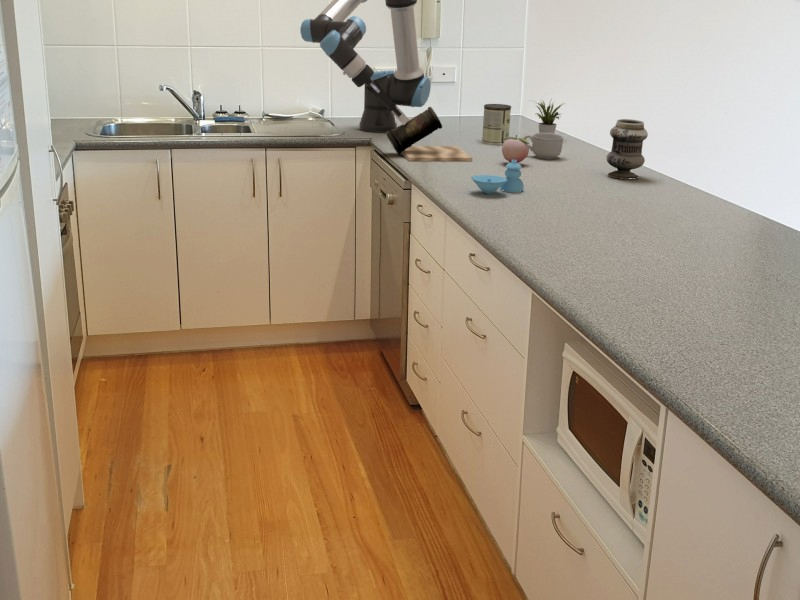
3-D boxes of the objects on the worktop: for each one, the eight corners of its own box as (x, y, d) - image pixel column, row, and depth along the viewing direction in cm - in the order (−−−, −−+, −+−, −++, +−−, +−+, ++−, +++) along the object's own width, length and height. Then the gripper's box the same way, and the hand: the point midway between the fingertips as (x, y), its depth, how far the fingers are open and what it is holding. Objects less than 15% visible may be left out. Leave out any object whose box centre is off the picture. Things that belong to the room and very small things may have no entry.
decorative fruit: (497, 165, 305) (499, 135, 302) (503, 161, 313) (505, 132, 309) (524, 168, 302) (527, 138, 299) (530, 163, 310) (532, 134, 306)
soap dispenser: (487, 199, 257) (489, 167, 254) (462, 191, 265) (464, 161, 262) (532, 192, 268) (535, 162, 265) (507, 185, 275) (510, 156, 272)
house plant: (520, 140, 356) (524, 97, 351) (529, 135, 368) (533, 94, 363) (556, 143, 351) (560, 101, 346) (564, 138, 363) (568, 97, 358)
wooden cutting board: (408, 161, 306) (409, 157, 305) (397, 149, 326) (397, 146, 326) (472, 161, 310) (472, 157, 310) (456, 149, 330) (456, 146, 330)
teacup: (565, 157, 325) (567, 134, 322) (556, 161, 316) (558, 138, 313) (527, 152, 330) (529, 130, 328) (518, 157, 321) (520, 134, 318)
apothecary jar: (621, 181, 287) (628, 124, 281) (596, 174, 297) (603, 118, 291) (650, 179, 293) (657, 123, 287) (625, 172, 303) (632, 117, 297)
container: (384, 131, 317) (428, 104, 317) (397, 153, 320) (440, 127, 319) (386, 133, 309) (431, 105, 308) (400, 156, 311) (445, 128, 310)
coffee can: (481, 139, 353) (484, 103, 349) (508, 141, 353) (511, 104, 348) (481, 144, 344) (483, 106, 339) (508, 145, 343) (511, 107, 338)
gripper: (348, 78, 310) (395, 127, 318) (352, 80, 298) (401, 132, 305) (363, 62, 309) (410, 112, 317) (369, 64, 297) (417, 116, 305)
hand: (406, 122), depth 311 cm, fingers closed
